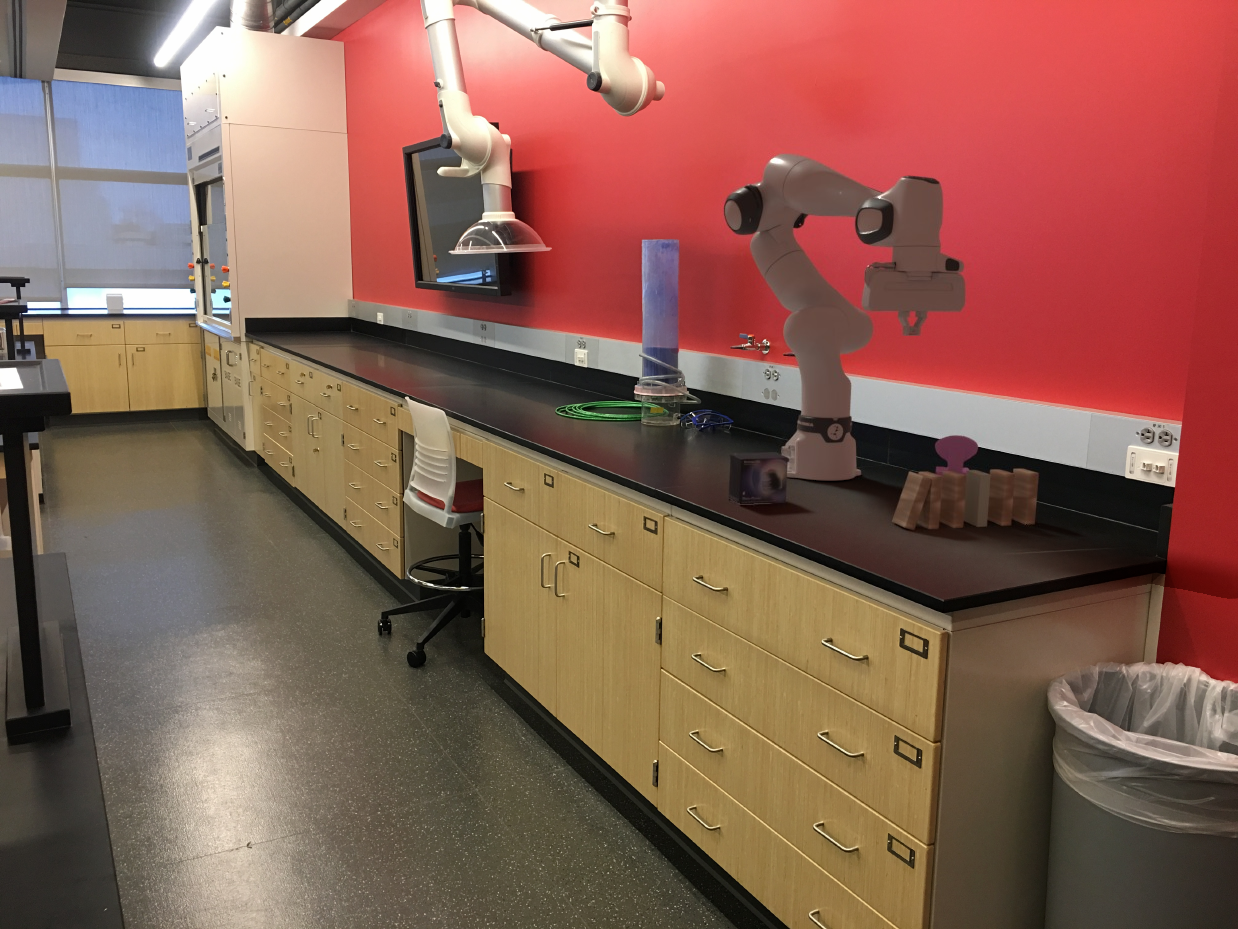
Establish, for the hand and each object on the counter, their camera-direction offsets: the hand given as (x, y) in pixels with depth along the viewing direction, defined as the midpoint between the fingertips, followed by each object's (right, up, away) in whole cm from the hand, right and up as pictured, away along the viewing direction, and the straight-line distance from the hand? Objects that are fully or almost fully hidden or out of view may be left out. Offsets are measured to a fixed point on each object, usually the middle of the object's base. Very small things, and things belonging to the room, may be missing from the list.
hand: (911, 335), depth 191 cm
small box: (-28, -34, +12) cm, 46 cm away
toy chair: (+12, -34, +13) cm, 38 cm away
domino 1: (-4, -37, -7) cm, 37 cm away
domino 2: (+1, -37, -6) cm, 37 cm away
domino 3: (+6, -37, -5) cm, 37 cm away
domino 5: (+16, -36, -3) cm, 40 cm away
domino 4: (+11, -36, -4) cm, 38 cm away
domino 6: (+21, -36, -2) cm, 42 cm away
